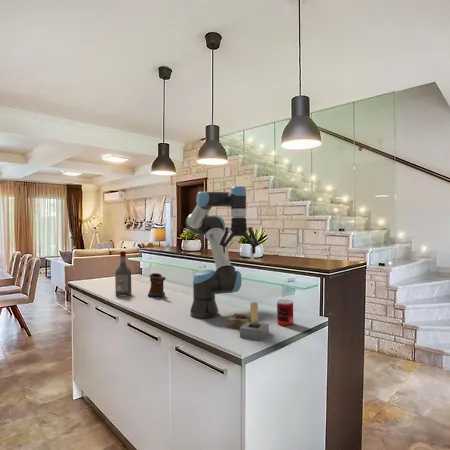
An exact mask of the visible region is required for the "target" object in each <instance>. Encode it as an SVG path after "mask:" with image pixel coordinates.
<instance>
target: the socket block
mask: <svg viewBox="0 0 450 450" xmlns="http://www.w3.org/2000/svg"><path fill="white" fill-rule="evenodd" d="M269 325H270V324H269V323H266V322H265V323H264V322H258V328H252V327H251V322H249V321H247V322H246V323H245V324H244V325H243V326H242V327H240V329H239V338H245V339H250V340H257V341H263V340H264V339H265V338H266V337H267V336H268V334H269V333H270V331H269V329H270V327H269Z"/></svg>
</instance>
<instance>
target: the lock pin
mask: <svg viewBox="0 0 450 450" xmlns="http://www.w3.org/2000/svg"><path fill="white" fill-rule="evenodd" d="M250 315H251V327H252V328H258V323H259V303H258V302H256V301H254V302H253V301H252V302H250Z"/></svg>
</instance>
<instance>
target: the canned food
mask: <svg viewBox="0 0 450 450" xmlns="http://www.w3.org/2000/svg"><path fill="white" fill-rule="evenodd" d="M276 311H277V312H276V319H277V320H276V321H277V322H276V323H277V325H278V326H280V327H291V326H293V325H294V301H293V300H290V299H278V300H277V301H276Z"/></svg>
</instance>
